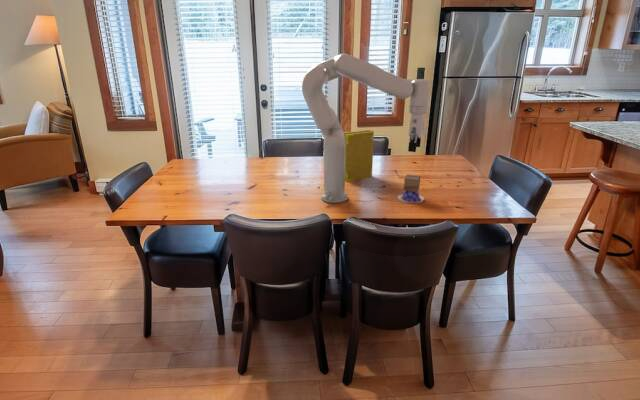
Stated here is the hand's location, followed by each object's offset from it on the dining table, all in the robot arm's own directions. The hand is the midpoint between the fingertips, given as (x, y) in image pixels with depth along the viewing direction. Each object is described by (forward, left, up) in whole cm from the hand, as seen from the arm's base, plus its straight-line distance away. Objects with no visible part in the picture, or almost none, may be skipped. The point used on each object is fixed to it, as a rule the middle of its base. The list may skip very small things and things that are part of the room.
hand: (414, 149), depth 164 cm
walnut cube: (0, 0, -19) cm, 19 cm away
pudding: (0, 0, -24) cm, 24 cm away
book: (+20, +33, -24) cm, 45 cm away
